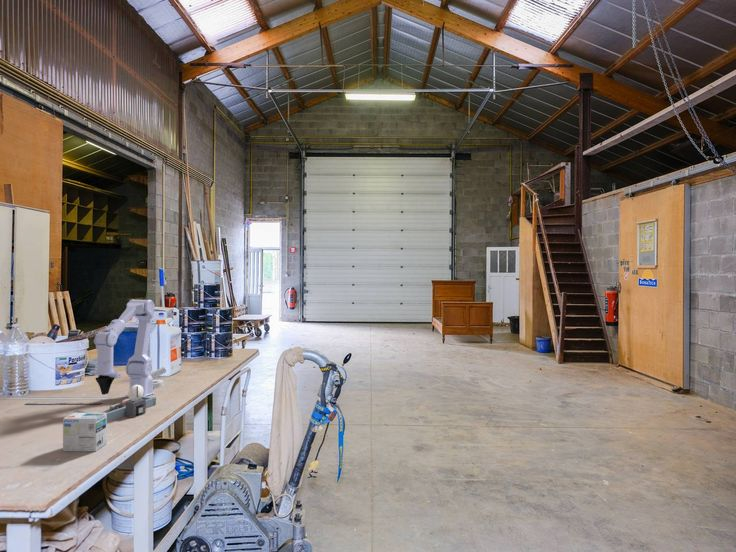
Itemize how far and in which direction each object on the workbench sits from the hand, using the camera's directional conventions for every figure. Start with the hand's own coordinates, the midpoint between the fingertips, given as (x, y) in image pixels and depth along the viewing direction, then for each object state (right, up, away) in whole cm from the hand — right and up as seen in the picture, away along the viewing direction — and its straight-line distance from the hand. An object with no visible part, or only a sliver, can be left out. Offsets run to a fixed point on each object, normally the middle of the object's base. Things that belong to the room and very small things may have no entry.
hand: (105, 393), depth 189 cm
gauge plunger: (+14, -6, -5) cm, 16 cm away
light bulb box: (+16, -8, -40) cm, 44 cm away
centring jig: (+9, -7, -3) cm, 11 cm away
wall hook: (+3, -7, +38) cm, 39 cm away
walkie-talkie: (+7, -7, 0) cm, 10 cm away
